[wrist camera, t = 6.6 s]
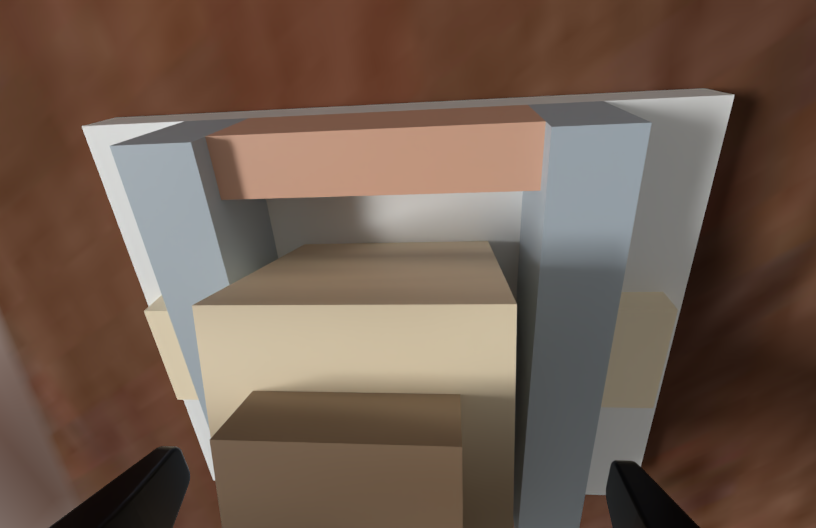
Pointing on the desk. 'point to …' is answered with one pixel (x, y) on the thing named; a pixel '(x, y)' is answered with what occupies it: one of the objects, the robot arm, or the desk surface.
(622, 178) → the jig
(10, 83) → the desk surface
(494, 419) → the stepped cream block
